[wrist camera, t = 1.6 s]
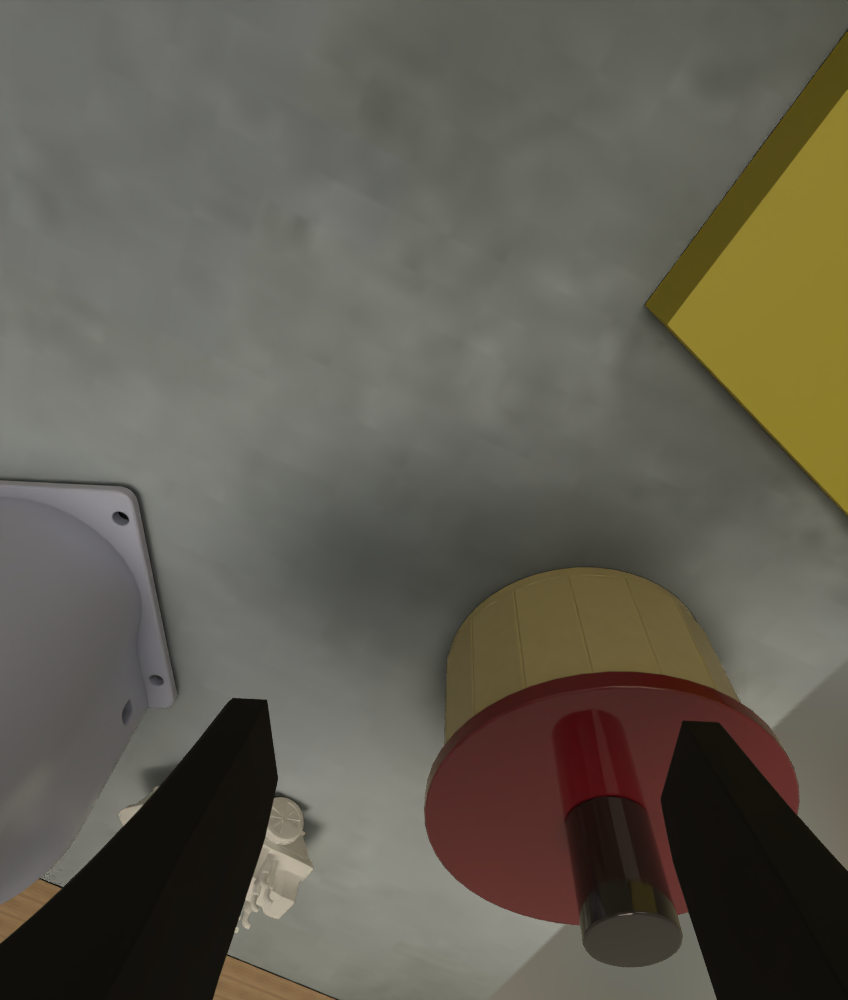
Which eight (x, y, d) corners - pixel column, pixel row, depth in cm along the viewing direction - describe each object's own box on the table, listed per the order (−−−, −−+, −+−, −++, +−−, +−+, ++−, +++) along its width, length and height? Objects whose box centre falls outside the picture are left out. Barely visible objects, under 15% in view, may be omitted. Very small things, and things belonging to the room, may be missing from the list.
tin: (675, 767, 26) (724, 907, 21) (441, 753, 27) (436, 888, 22) (736, 573, 22) (814, 696, 17) (453, 559, 22) (451, 676, 17)
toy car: (282, 868, 31) (258, 965, 27) (120, 802, 29) (72, 896, 25) (330, 814, 29) (312, 912, 25) (160, 739, 27) (114, 832, 23)
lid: (730, 899, 22) (787, 1058, 18) (421, 879, 23) (413, 1031, 19) (831, 665, 17) (939, 816, 13) (432, 643, 17) (424, 784, 14)
